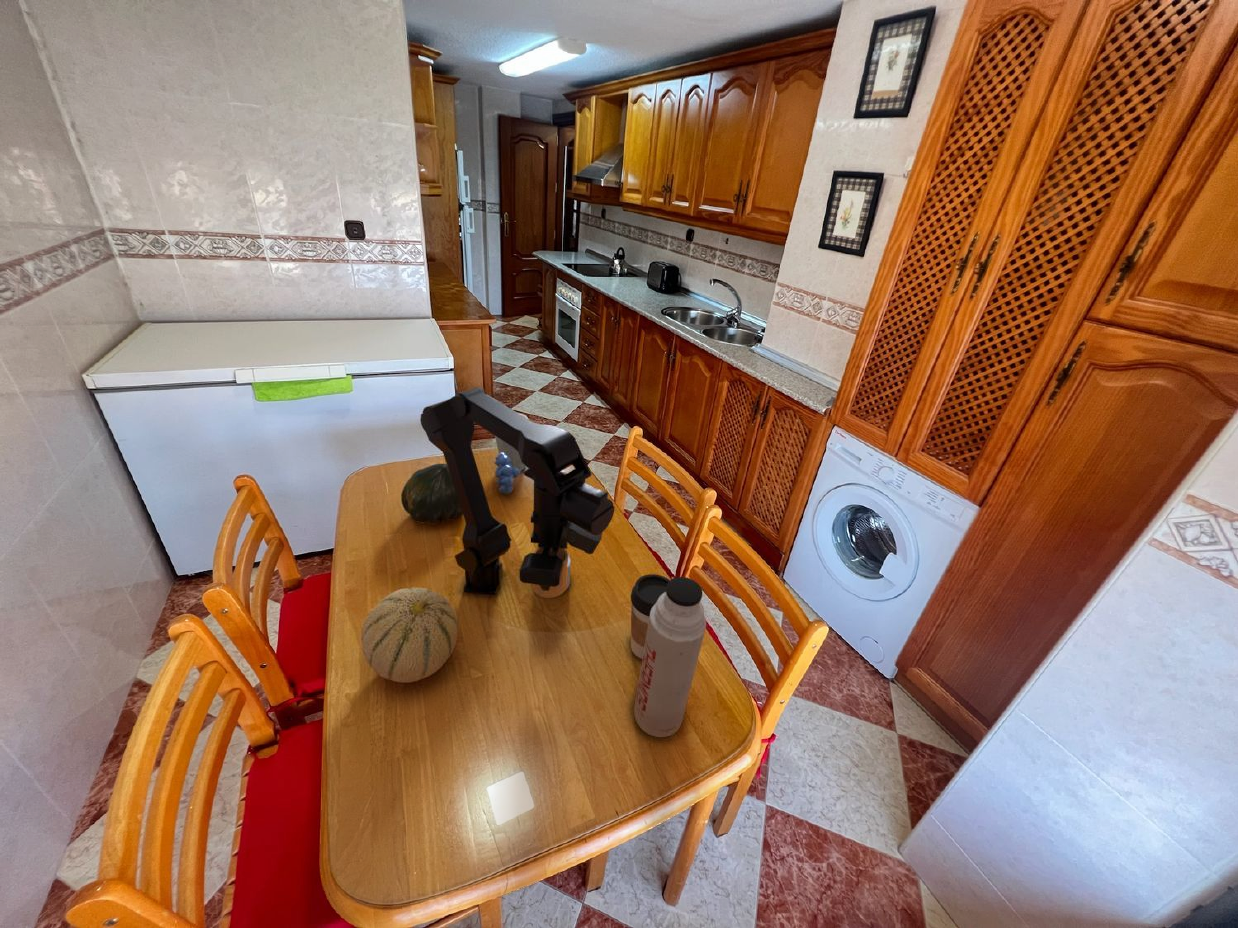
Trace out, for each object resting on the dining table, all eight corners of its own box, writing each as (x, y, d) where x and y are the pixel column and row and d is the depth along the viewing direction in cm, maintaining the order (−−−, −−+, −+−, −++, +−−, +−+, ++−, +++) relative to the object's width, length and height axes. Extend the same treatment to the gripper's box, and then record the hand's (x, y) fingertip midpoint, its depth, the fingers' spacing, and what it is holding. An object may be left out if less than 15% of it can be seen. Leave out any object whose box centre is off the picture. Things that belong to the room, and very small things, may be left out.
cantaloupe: (370, 639, 88) (354, 577, 81) (456, 620, 93) (449, 560, 86) (368, 713, 77) (349, 649, 69) (466, 686, 82) (458, 624, 74)
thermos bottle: (636, 738, 77) (659, 611, 63) (631, 691, 84) (651, 567, 70) (686, 736, 78) (720, 611, 64) (677, 690, 85) (706, 568, 70)
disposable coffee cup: (519, 480, 136) (518, 431, 129) (486, 470, 139) (483, 422, 131) (538, 462, 145) (538, 416, 137) (506, 453, 148) (504, 408, 140)
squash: (388, 486, 119) (400, 463, 108) (448, 470, 129) (464, 447, 117) (410, 540, 117) (425, 523, 106) (468, 519, 127) (488, 501, 115)
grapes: (526, 502, 128) (526, 462, 122) (500, 506, 125) (498, 466, 119) (516, 479, 137) (515, 440, 131) (491, 482, 134) (489, 443, 128)
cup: (529, 595, 86) (529, 565, 82) (536, 571, 91) (536, 542, 88) (563, 599, 86) (564, 569, 82) (568, 575, 91) (570, 546, 87)
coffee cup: (637, 672, 87) (647, 612, 79) (616, 636, 93) (623, 578, 86) (677, 656, 91) (690, 597, 83) (654, 623, 97) (664, 565, 89)
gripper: (594, 550, 71) (587, 624, 79) (607, 480, 87) (600, 548, 95) (518, 540, 72) (519, 615, 80) (544, 473, 88) (543, 541, 96)
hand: (549, 577), depth 88 cm, fingers closed on cup, 6 cm apart
